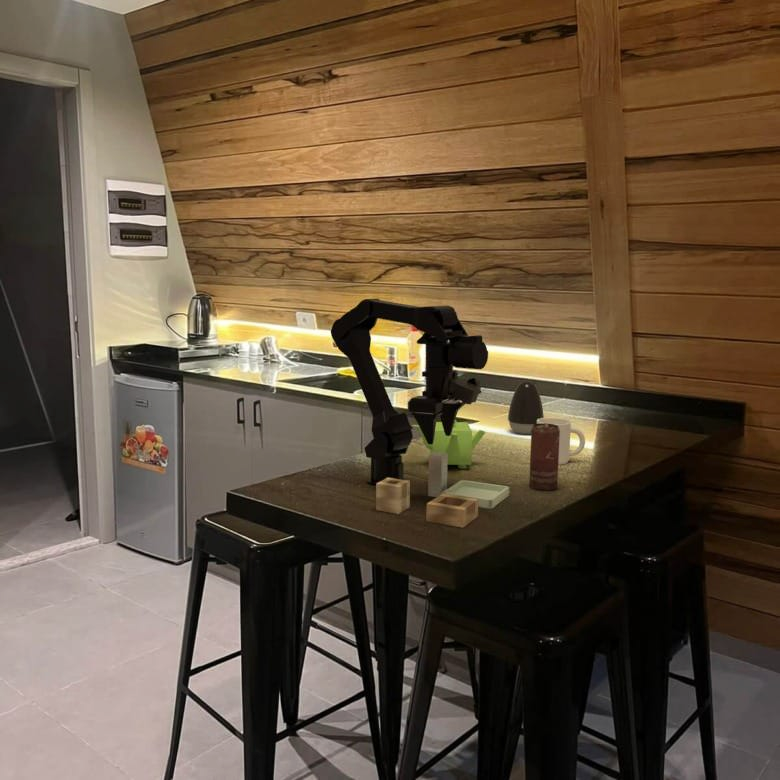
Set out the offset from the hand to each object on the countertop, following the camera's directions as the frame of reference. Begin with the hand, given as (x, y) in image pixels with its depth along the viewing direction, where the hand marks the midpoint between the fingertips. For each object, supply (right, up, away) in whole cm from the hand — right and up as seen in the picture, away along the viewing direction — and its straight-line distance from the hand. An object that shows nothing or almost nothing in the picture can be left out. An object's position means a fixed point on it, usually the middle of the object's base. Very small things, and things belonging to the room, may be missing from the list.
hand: (439, 439), depth 168 cm
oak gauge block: (+2, -15, -13) cm, 20 cm away
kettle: (+4, -8, +27) cm, 28 cm away
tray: (+8, -12, 0) cm, 15 cm away
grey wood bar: (0, -12, +2) cm, 12 cm away
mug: (+32, -8, +31) cm, 45 cm away
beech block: (-10, -13, -7) cm, 18 cm away
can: (+23, -11, +9) cm, 28 cm away
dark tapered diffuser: (+29, -2, +64) cm, 70 cm away
